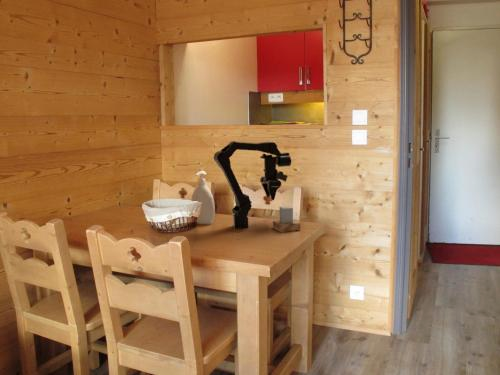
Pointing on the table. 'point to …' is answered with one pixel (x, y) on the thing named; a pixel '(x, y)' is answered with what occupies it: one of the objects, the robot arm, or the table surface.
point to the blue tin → (286, 214)
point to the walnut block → (286, 226)
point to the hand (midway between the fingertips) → (270, 198)
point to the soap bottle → (204, 200)
